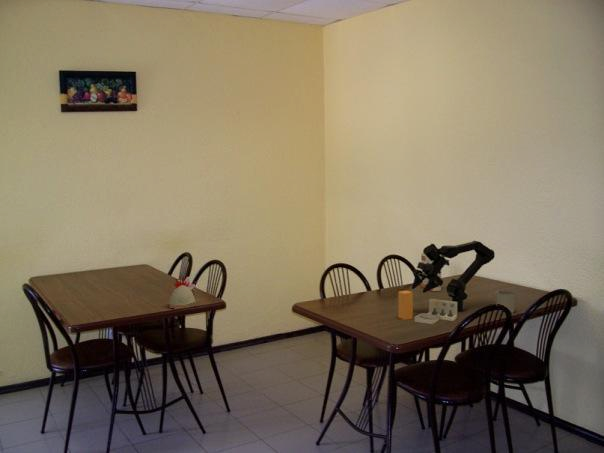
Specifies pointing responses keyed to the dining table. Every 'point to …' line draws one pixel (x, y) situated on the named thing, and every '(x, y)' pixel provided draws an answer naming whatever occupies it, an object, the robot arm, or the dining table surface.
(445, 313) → the breaker bank
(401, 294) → the cap
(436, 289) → the cracker box
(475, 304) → the dining table surface
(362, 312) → the dining table surface
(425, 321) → the frame
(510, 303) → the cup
